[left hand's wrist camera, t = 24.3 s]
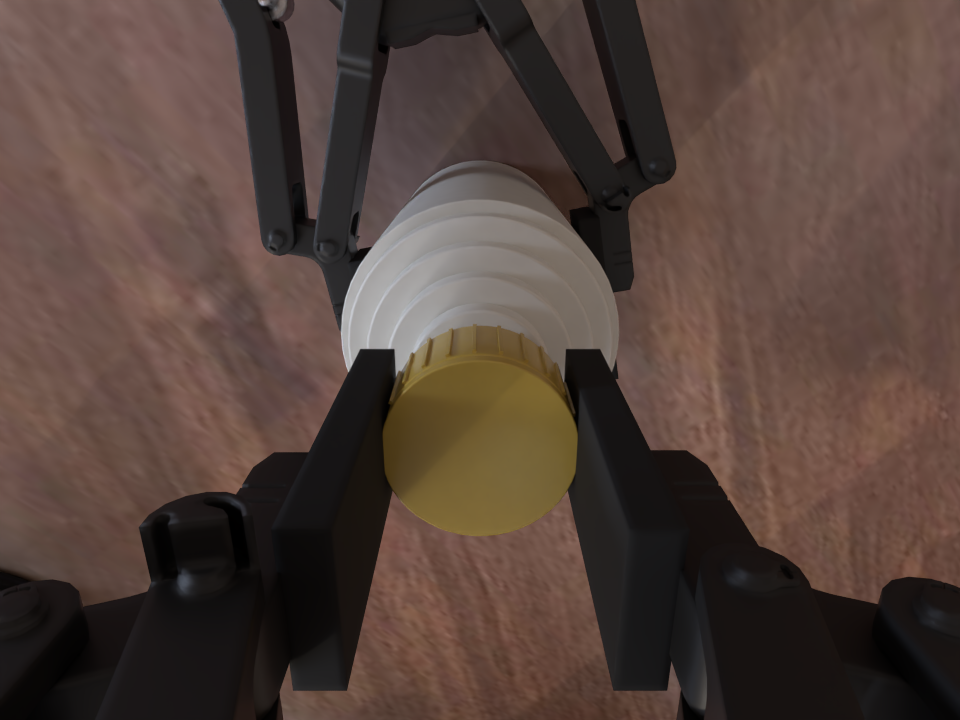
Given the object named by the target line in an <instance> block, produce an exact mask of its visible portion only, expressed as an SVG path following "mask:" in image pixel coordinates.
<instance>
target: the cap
mask: <svg viewBox="0 0 960 720" xmlns="http://www.w3.org/2000/svg"><path fill="white" fill-rule="evenodd" d="M388 404H390V406H389V409H388V413H387V416H386V419H385V423H384V426H383V451H384V467H385V475H386V478H387V480H388V482H389V484H390V486H391V488H392V490H393V491H394V493H395V494H396V495H397V497H398V498H399V500H400V501H401V502H402V503H403V504H404V505H405V506H406V507H407V508H408V509H409V510H410V511H411V512H413V513H414V514H415V515H416V516H418V517H419V518H421V519H422V520H424V521H425V522H427V523H429V524H431V525H433V526H435V527H437V528H440V529H443V530H446V531H449V532H453V533H457V534H462V535H470V536H490V535H499V534H503V533H508V532H512V531H515V530H518V529H521V528H523V527H525V526H527V525H529V524H531V523H533V522H535V521H536V520H538V519H540V518H541V517H543V516H544V515H545V514H547V513H548V512H549V511H550V510H551V509H552V508H553V507H554V506H555V505H556V504H557V503H558V502H559V501H560V500H561V499H562V497H563V496H564V495H565V493H566V492H567V490H568V488H569V487H570V485H571V483H572V481H573V479H574V476H575V472H576V457H577V441H578V429H577V425H576V421H575V418H574V417H575V410H574V407H573V403H572V400H571V397H570V394H569V390H568V387H567V384H566V382H563V379H562V376H561V372H560V369H559V366H558V364H557V362H555V363H554V362H553V361H552V360H551V358H550V357H549V356H548V355H547V354H546V353H545V351H544V348H543V346H541V345H540V346H538V345H536V344H535V343H534V342H532V341H531V340H529V339H528V338H526V337H524V334H523V333H520V334H518V333H515V332H513V331H511V330H507V329H503V328H501V326H499V325H497V327H493V326H477V324H473V326H468V327H461V328H457V329H453V328H450V329H449V331H447V332H445V333H442V334H440V335H438V336H436V337H434V338H433V339H431V338H429V339H427V343H425V344H424V345H422V346H421V347H420V348H419V349H418V350H417V351H416V352H415V353H413V352H412V353H411V354H410V356H409V359H408V361H407V363H406V364H405V366H404V368H403V369H402V371H398V373H397V376H396V380H395V383H394V386H393V389H392V392H391V396H390V399H389V402H388Z"/></svg>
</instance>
